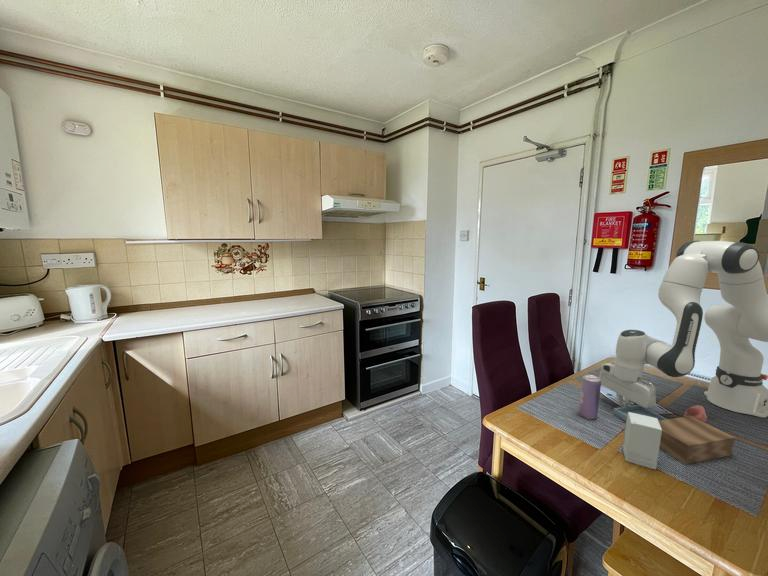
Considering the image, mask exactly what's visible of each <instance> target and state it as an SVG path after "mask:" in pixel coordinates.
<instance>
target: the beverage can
mask: <svg viewBox="0 0 768 576" xmlns="http://www.w3.org/2000/svg"><path fill="white" fill-rule="evenodd" d="M601 387H602V385H601V379H600V378H599V376H596V375H592V374H584V375H582V378H581V386H580V393H579V401H578V402H579V404H578V414H579V416H580V417H582V418H585V419H587V420H595V419H597V418H598V415H599V414H598V413H599V405H600V395H601Z"/></svg>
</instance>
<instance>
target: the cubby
mask: <svg viewBox="0 0 768 576" xmlns="http://www.w3.org/2000/svg"><path fill="white" fill-rule="evenodd" d="M666 419H667V420H661V421H659V424H660V426H661V429H662V434H661V440H660V447H659V450H662V451H664V452H665V453H667V454H668V455H670V456H672V457H673V458H675V459H676V460H678V461H680V462H681V463H683V464H685V465H689V464H693V463H698V462H699V463H700V462H704V461H708V460H709V461H710V460H713V459H718V458H719V457H720V458H723V457H724V456H725V457H730V456H732V454H733V449H734V444H735V438H736V437H735V436H733V435H730V434H729V433H727V432H724V431H723V430H720V429H718V428H716V427H714V426H712V425H710V424H708V423H706V422H702V421H700V420H698V419H696V418H694V417H692V416H687V417H685V416H681V417H676V418H666ZM720 458H719V459H720Z"/></svg>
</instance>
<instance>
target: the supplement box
mask: <svg viewBox="0 0 768 576" xmlns="http://www.w3.org/2000/svg"><path fill="white" fill-rule="evenodd" d="M661 434H662V429H661V426H660V424H659V421H658V419H657V418H654V417H649V416H645V415H640V414H636V413H631V412H628V415H627V422H625V431H624V436H623V437H624V439H623V446H622V450H623V455H624V460H625V462H629V463H632V464H635V465H638V466H641V467H646V468H649V469H652V470H657V468H658V467H657V465H658V460H659V454H660V448H659V447H660V440H661Z"/></svg>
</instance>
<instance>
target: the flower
mask: <svg viewBox="0 0 768 576" xmlns="http://www.w3.org/2000/svg"><path fill="white" fill-rule="evenodd" d="M705 410H706V409H705V408H704V406H702V405H701V404H700V405H698V404H696V406H695V405H693V406H692V407H689V408H687V409H686V410H685V412H684V415H683V417H687V416H692V417H694V418H696V419H698V420H700V421H702V422H704V423H706V421H707V418H708V416H707V414H706V411H705Z"/></svg>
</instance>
